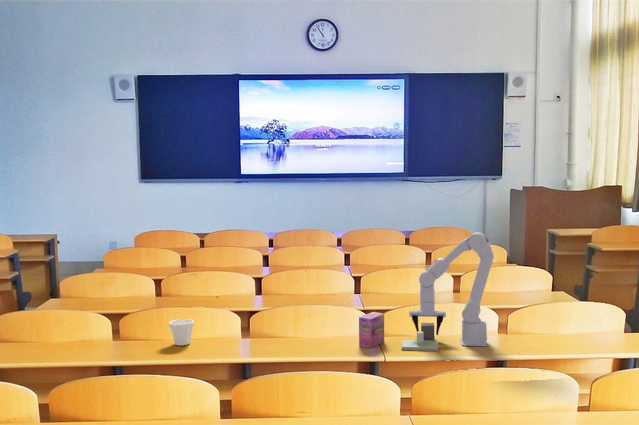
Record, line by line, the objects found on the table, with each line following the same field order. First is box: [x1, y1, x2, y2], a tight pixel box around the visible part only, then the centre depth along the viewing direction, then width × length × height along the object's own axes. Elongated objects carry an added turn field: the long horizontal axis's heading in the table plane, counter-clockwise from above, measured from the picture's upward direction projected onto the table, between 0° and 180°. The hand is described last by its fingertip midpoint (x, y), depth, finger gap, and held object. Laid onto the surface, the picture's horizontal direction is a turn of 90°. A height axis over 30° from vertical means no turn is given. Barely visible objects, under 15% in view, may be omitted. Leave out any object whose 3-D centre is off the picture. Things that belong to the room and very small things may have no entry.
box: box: [358, 311, 385, 349], centre depth 249 cm, size 10×6×12 cm, turn 143°
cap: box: [420, 322, 435, 340], centre depth 253 cm, size 5×5×7 cm
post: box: [416, 330, 424, 345], centre depth 244 cm, size 3×3×4 cm
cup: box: [168, 318, 195, 347], centre depth 255 cm, size 10×10×9 cm
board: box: [401, 339, 440, 352], centre depth 245 cm, size 14×10×1 cm
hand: (427, 334), depth 253 cm, fingers open, 7 cm apart
